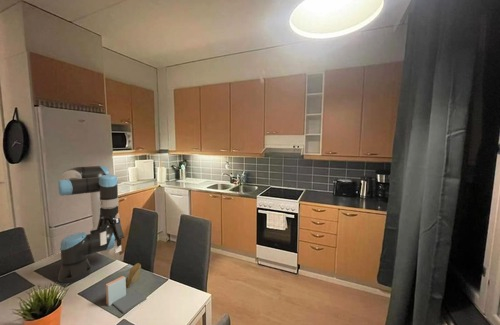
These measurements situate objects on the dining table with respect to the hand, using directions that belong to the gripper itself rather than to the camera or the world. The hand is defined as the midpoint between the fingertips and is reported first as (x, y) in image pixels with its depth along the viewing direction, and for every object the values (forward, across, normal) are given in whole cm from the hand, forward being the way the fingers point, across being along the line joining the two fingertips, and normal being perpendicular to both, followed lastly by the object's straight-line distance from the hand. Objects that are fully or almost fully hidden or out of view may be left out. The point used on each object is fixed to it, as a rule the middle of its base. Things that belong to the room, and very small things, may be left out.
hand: (110, 248), depth 109 cm
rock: (+25, -1, +11) cm, 27 cm away
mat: (+24, +13, +1) cm, 27 cm away
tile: (+24, +7, -1) cm, 25 cm away
